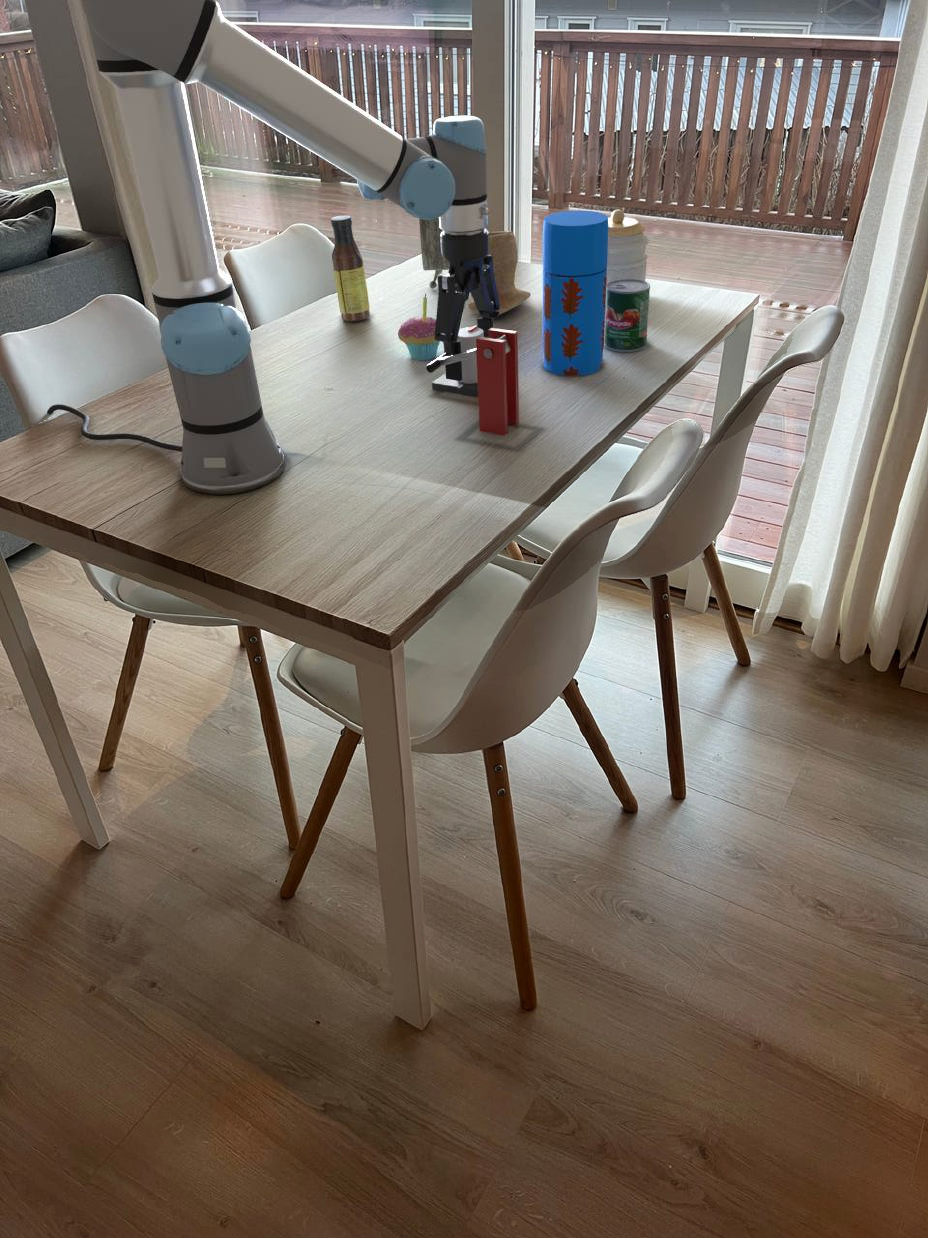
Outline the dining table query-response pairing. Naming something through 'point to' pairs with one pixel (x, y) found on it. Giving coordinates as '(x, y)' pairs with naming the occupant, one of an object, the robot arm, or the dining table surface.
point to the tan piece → (504, 271)
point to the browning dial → (468, 343)
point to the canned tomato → (626, 315)
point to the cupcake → (420, 335)
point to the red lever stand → (497, 381)
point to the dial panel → (455, 386)
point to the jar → (626, 248)
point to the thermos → (574, 291)
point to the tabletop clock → (432, 248)
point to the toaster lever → (458, 357)
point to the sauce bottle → (349, 272)
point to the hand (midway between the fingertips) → (470, 367)
